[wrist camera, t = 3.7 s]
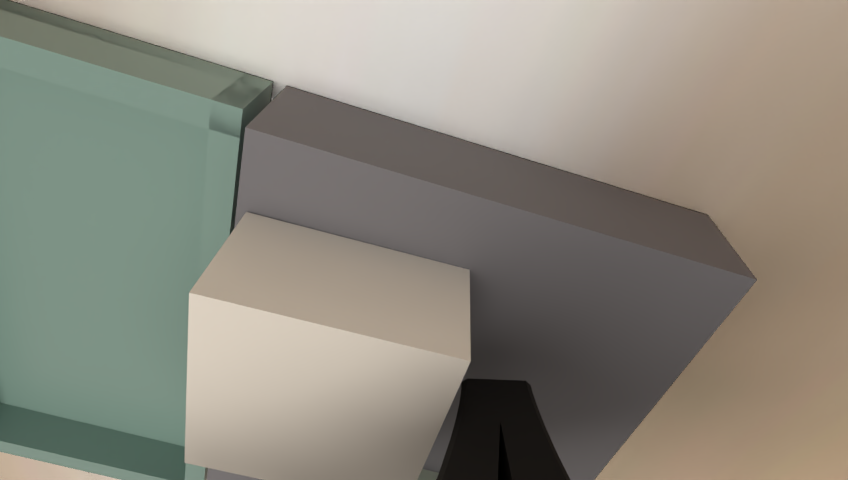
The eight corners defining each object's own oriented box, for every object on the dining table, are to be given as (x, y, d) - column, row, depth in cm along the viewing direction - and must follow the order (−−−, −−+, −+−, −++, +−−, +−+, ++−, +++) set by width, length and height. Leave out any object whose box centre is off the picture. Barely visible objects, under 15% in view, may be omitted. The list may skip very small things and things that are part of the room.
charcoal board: (707, 215, 12) (756, 279, 10) (500, 516, 19) (504, 590, 17) (286, 85, 11) (245, 127, 9) (232, 451, 19) (201, 521, 16)
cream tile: (469, 269, 11) (470, 361, 8) (413, 411, 13) (404, 510, 11) (245, 211, 10) (188, 292, 8) (231, 369, 13) (184, 462, 10)
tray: (272, 81, 11) (242, 108, 10) (224, 449, 19) (202, 498, 17) (-103, -35, 11) (-199, -23, 9) (-2, 395, 18) (-46, 441, 16)
